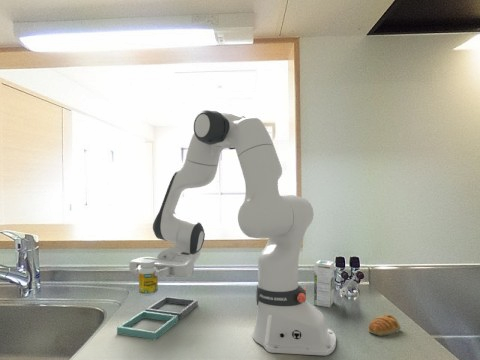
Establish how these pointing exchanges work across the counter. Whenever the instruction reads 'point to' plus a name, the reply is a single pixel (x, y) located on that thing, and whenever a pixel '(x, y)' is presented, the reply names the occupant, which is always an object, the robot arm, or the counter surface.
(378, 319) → the pastry
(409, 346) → the counter surface
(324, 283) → the syrup box
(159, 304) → the bin
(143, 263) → the supplement bottle
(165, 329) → the bin
